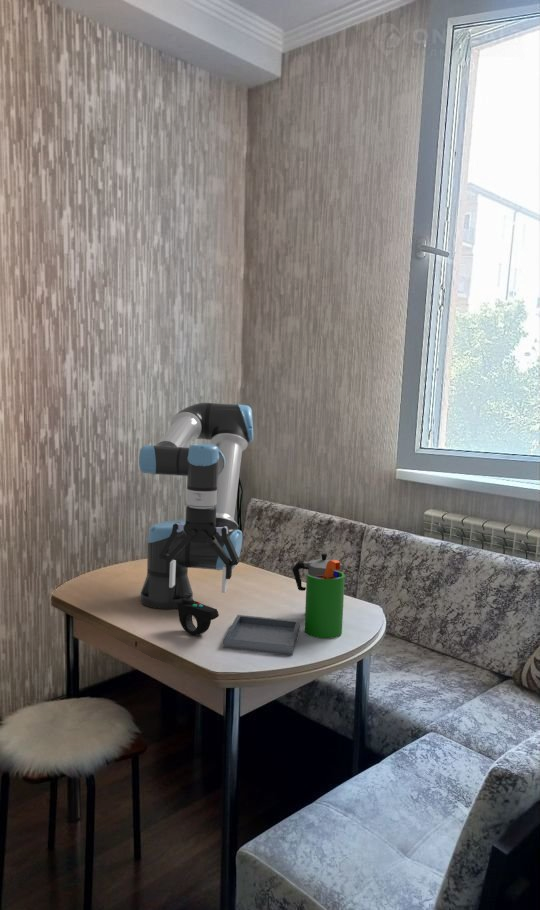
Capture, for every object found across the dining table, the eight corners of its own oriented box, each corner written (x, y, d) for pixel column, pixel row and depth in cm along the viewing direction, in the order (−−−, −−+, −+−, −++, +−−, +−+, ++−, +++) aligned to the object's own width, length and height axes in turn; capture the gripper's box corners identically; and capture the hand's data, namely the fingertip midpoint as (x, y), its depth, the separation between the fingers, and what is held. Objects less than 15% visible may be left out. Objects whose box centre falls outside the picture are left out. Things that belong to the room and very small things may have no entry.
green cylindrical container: (321, 622, 189) (325, 551, 187) (349, 631, 184) (353, 558, 181) (299, 632, 181) (303, 558, 179) (327, 642, 176) (332, 565, 174)
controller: (185, 626, 182) (186, 589, 181) (220, 639, 174) (221, 600, 173) (173, 630, 178) (174, 593, 177) (208, 643, 171) (210, 605, 170)
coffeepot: (338, 609, 201) (342, 549, 199) (348, 621, 192) (352, 558, 190) (286, 610, 198) (289, 549, 196) (294, 622, 189) (297, 558, 187)
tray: (237, 623, 185) (237, 614, 185) (299, 630, 183) (300, 621, 183) (223, 648, 169) (224, 638, 168) (292, 655, 166) (293, 645, 166)
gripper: (148, 504, 170) (145, 588, 173) (247, 512, 167) (243, 597, 169) (157, 499, 178) (155, 580, 180) (253, 507, 174) (249, 588, 176)
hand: (198, 588), depth 175 cm, fingers open, 13 cm apart
